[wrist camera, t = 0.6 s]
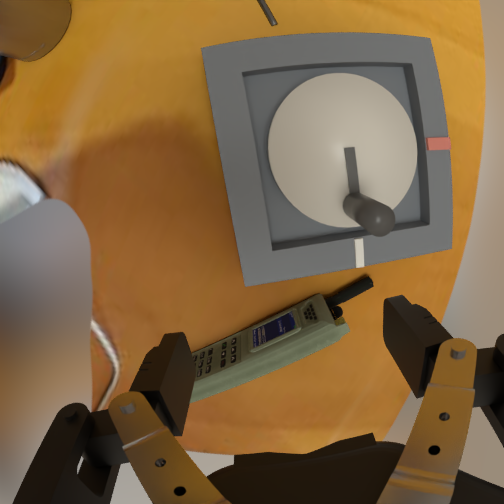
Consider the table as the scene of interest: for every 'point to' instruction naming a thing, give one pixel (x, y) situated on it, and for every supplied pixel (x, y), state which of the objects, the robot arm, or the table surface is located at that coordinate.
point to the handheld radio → (272, 343)
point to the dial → (343, 152)
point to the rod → (267, 12)
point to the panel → (258, 168)
